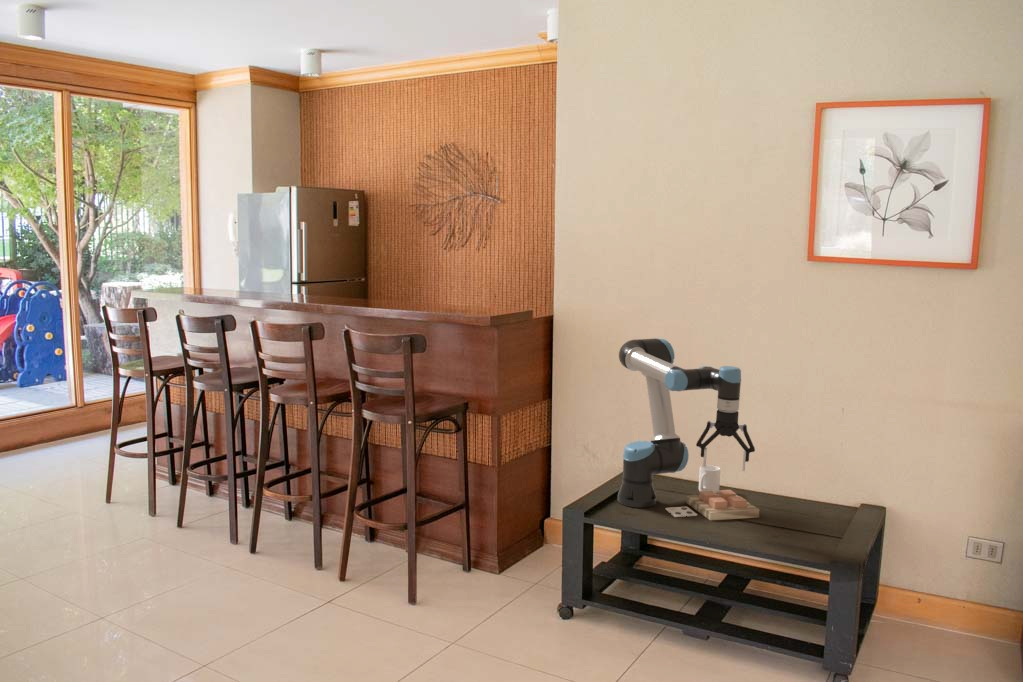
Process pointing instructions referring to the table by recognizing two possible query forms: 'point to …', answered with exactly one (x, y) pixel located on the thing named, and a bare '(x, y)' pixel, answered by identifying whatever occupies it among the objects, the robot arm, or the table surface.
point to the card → (681, 511)
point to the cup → (709, 478)
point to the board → (722, 510)
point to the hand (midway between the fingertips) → (723, 468)
